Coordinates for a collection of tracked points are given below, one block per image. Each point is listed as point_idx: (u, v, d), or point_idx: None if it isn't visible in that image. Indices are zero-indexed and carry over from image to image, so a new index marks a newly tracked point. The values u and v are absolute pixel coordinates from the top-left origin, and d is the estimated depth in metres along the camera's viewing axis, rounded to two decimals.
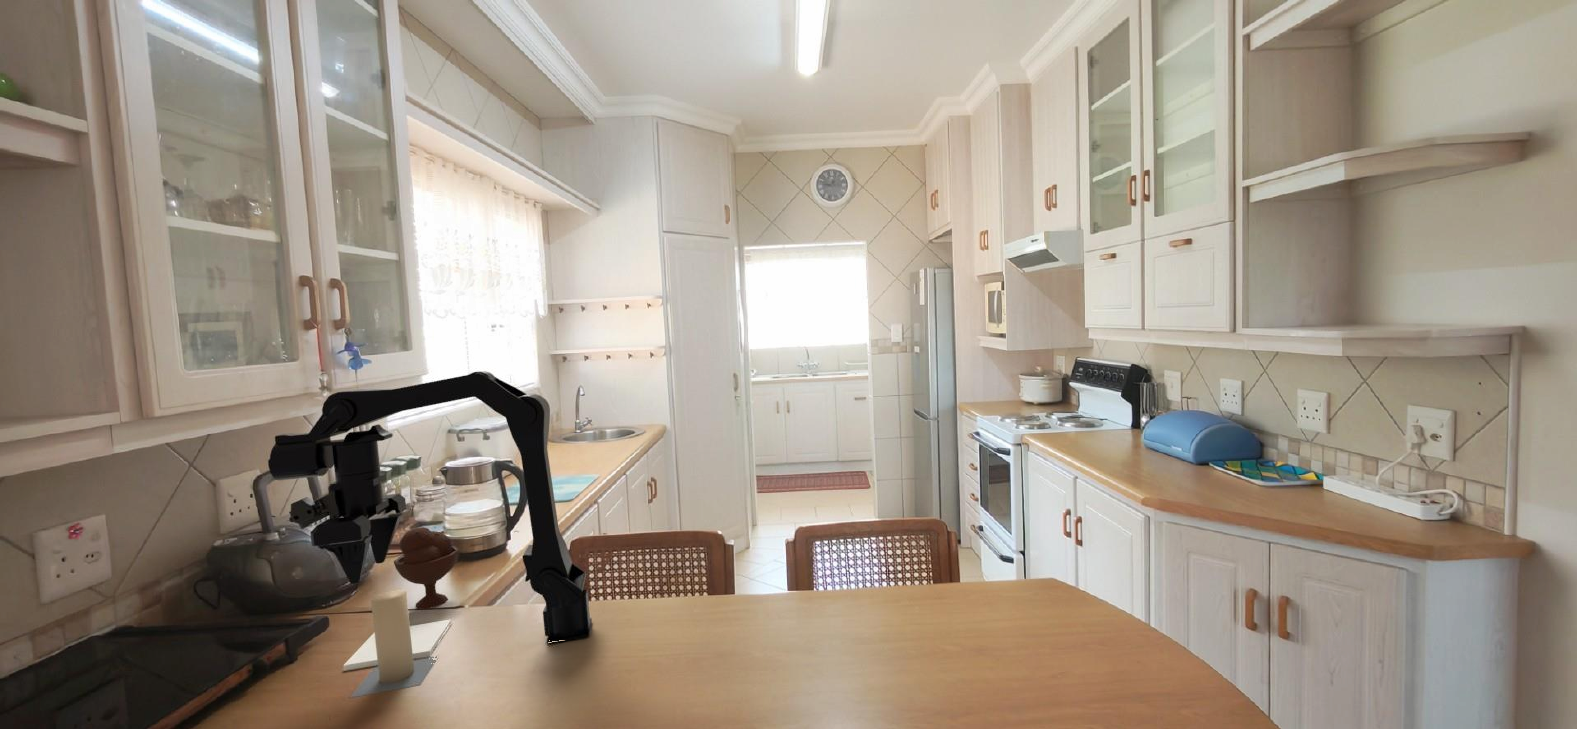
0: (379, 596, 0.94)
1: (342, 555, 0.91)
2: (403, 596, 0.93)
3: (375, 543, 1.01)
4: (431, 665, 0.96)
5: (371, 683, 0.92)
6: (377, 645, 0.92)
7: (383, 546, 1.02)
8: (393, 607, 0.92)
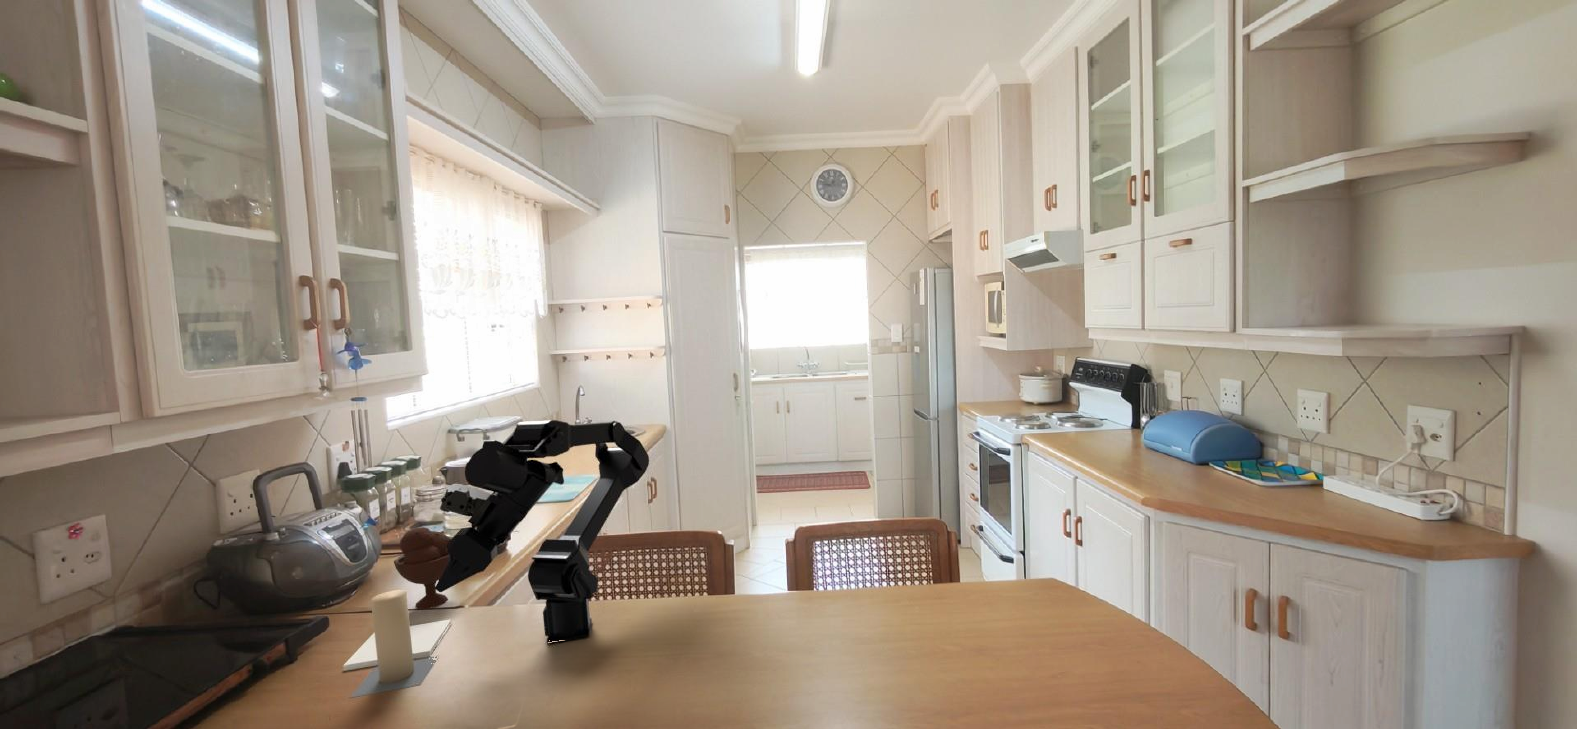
0: (379, 596, 0.94)
1: (453, 564, 0.90)
2: (403, 596, 0.93)
3: None
4: (431, 665, 0.96)
5: (371, 683, 0.92)
6: (377, 645, 0.92)
7: None
8: (393, 607, 0.92)
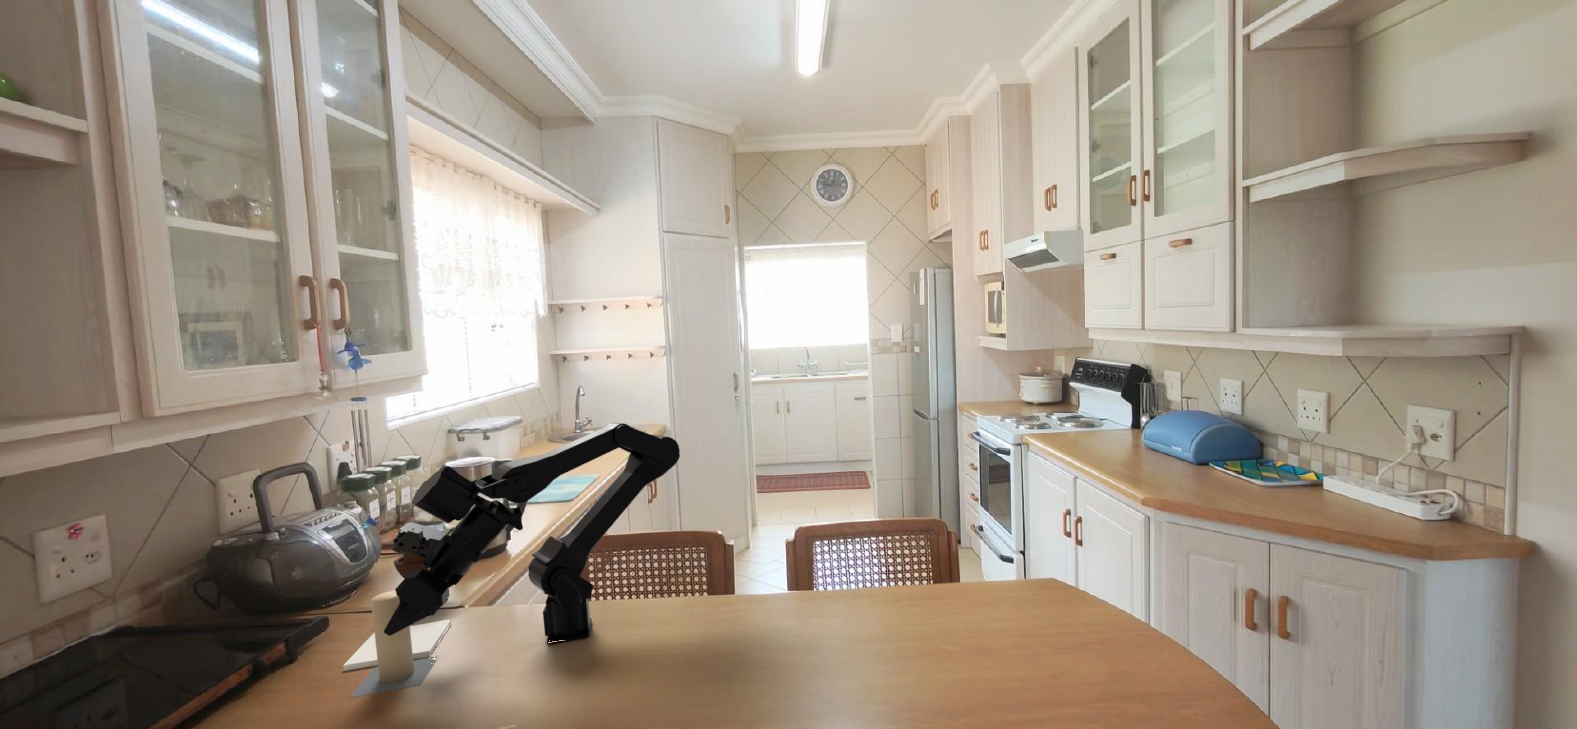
0: (379, 596, 0.94)
1: (403, 607, 0.88)
2: None
3: None
4: (431, 665, 0.96)
5: (371, 683, 0.92)
6: (377, 645, 0.92)
7: None
8: (393, 607, 0.92)
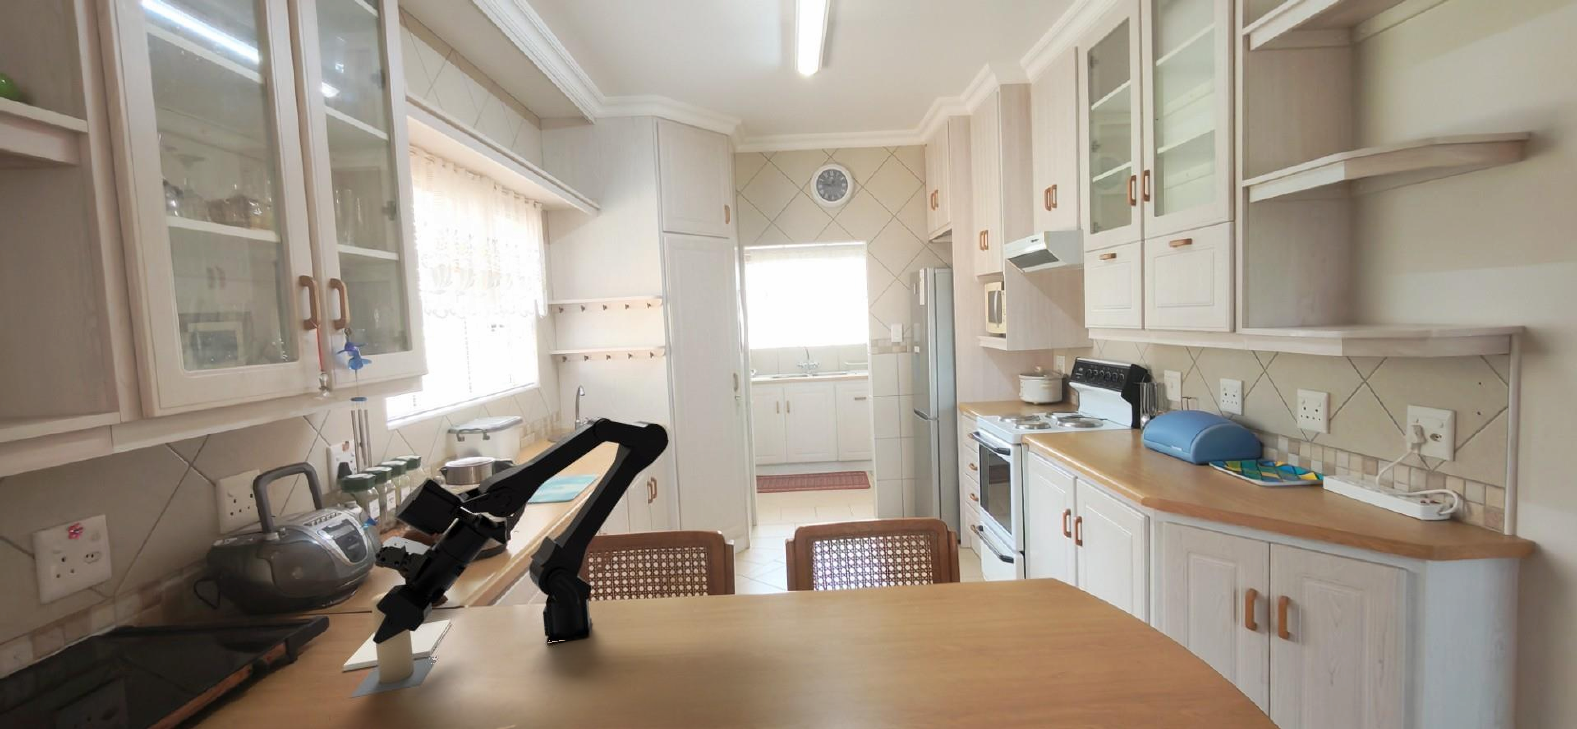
0: (379, 596, 0.94)
1: None
2: None
3: None
4: (431, 665, 0.96)
5: (371, 683, 0.92)
6: (377, 645, 0.92)
7: None
8: None
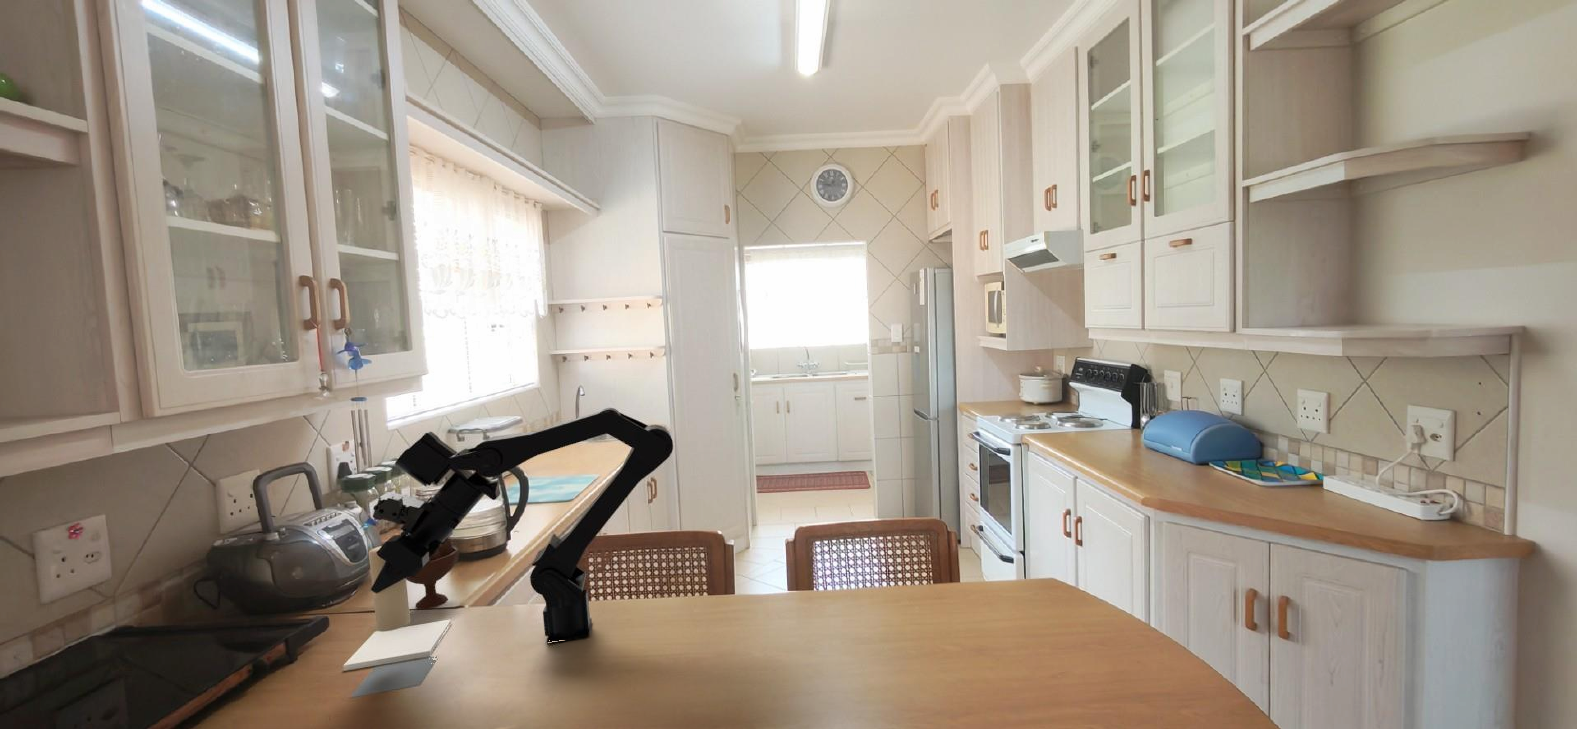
0: (376, 549, 0.97)
1: (389, 566, 0.94)
2: None
3: None
4: (431, 665, 0.96)
5: (371, 683, 0.92)
6: (375, 595, 0.96)
7: None
8: None
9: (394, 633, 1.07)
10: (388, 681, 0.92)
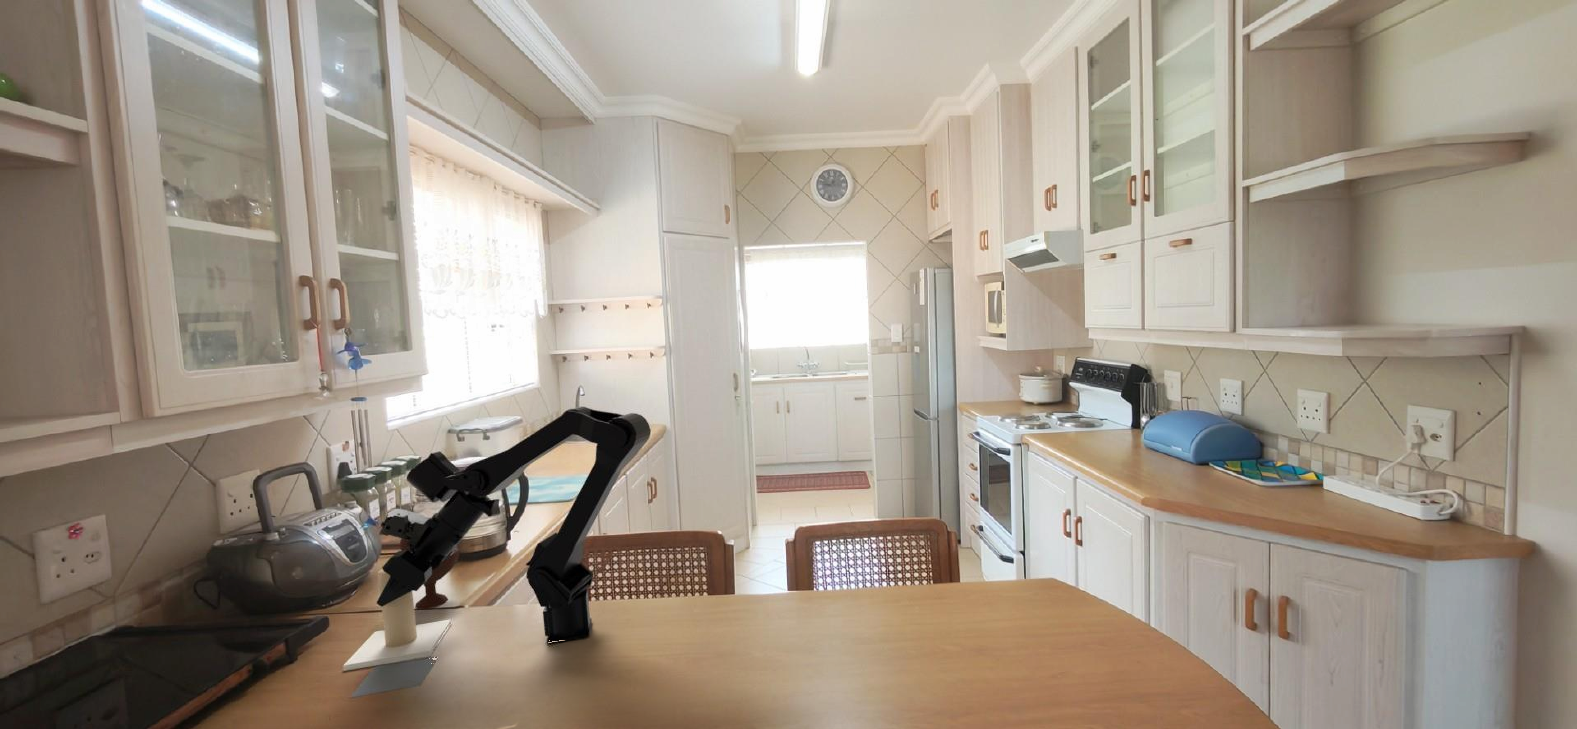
0: None
1: (393, 581, 0.99)
2: None
3: None
4: (431, 665, 0.96)
5: (371, 683, 0.92)
6: (383, 613, 1.02)
7: None
8: None
9: None
10: (388, 681, 0.92)
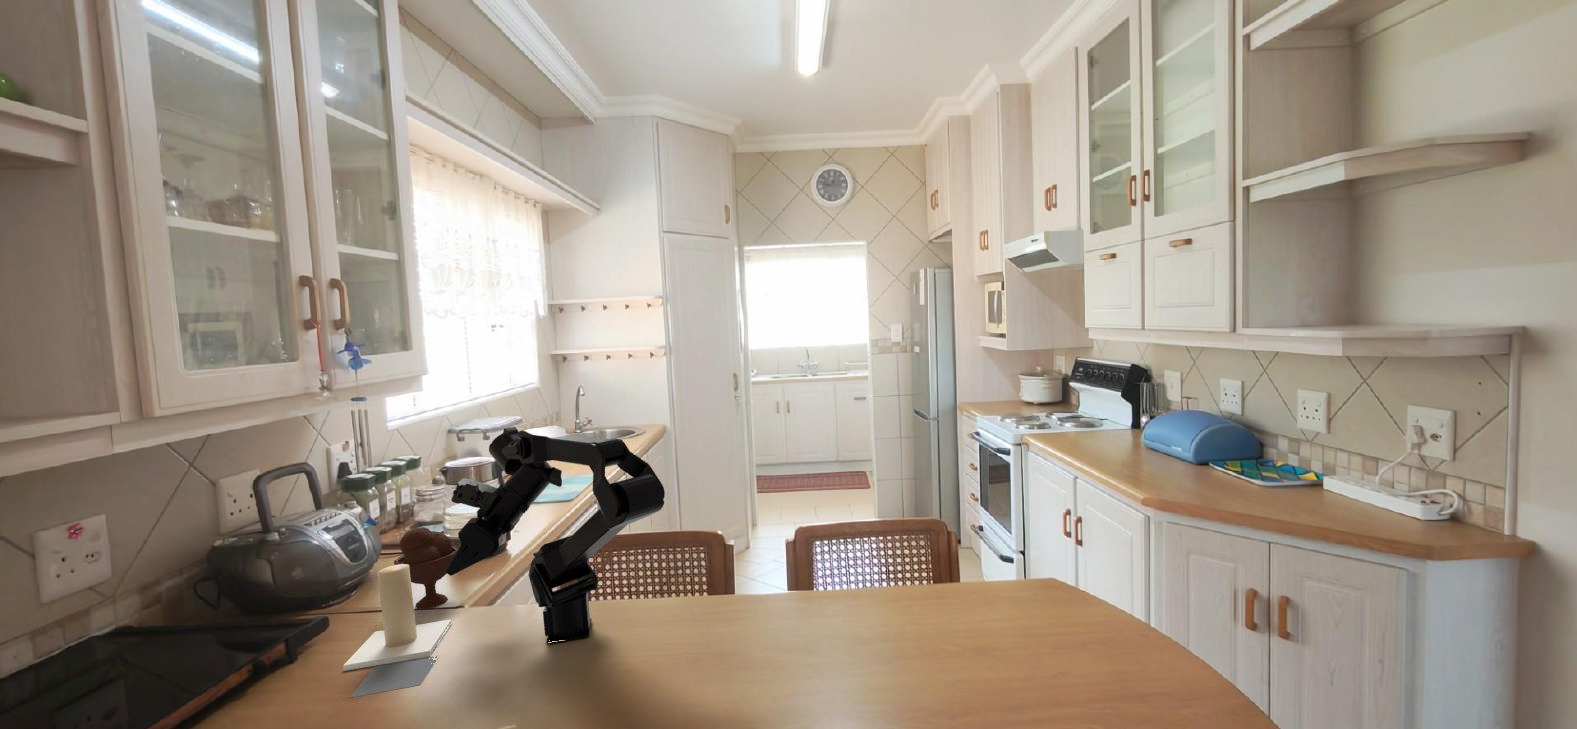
0: (384, 569, 1.03)
1: (463, 550, 1.00)
2: (406, 569, 1.03)
3: None
4: (431, 665, 0.96)
5: (371, 683, 0.92)
6: (383, 613, 1.02)
7: None
8: (397, 578, 1.02)
9: None
10: (388, 681, 0.92)
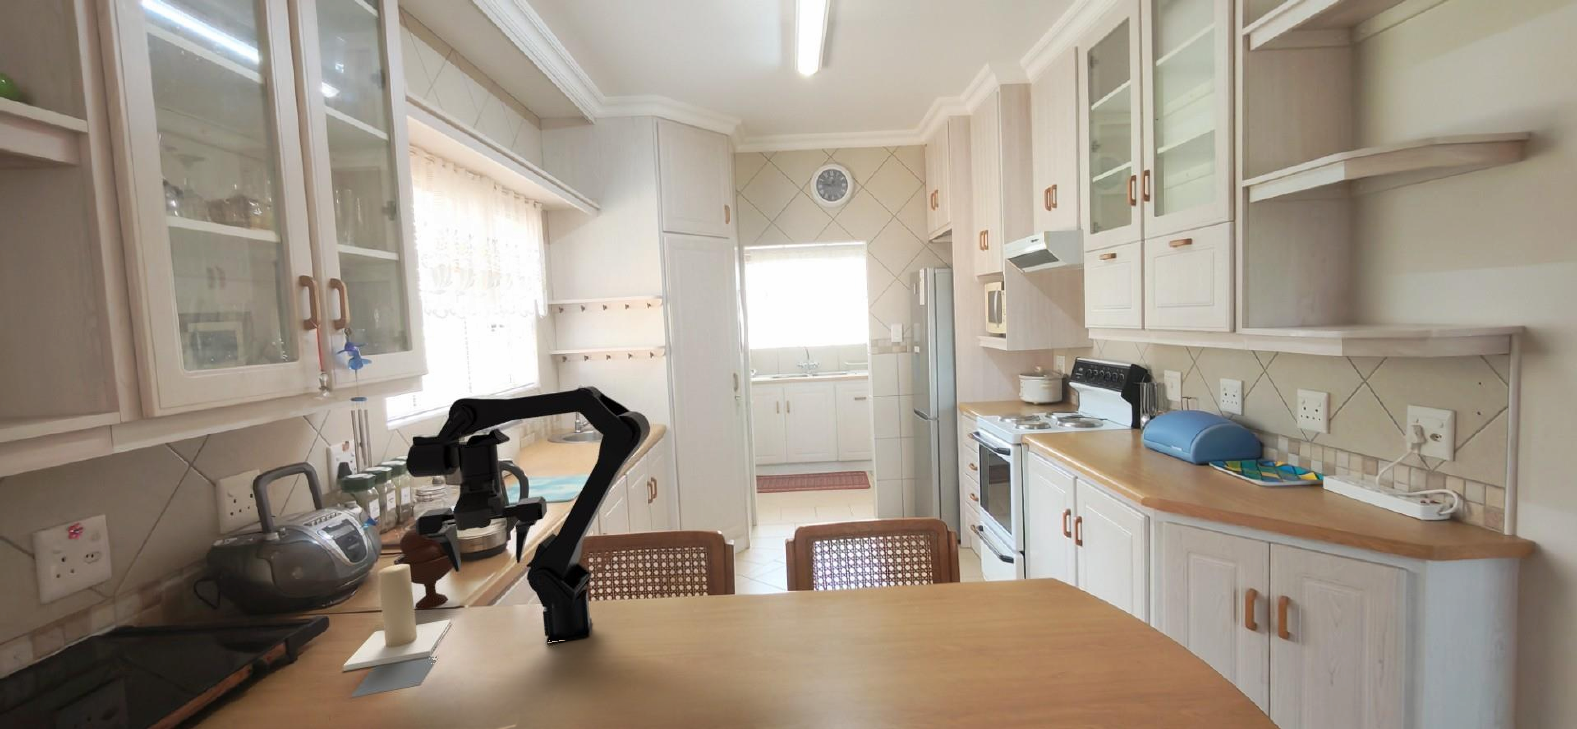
0: (385, 569, 1.03)
1: None
2: (407, 569, 1.03)
3: (455, 552, 1.02)
4: (431, 665, 0.96)
5: (371, 683, 0.92)
6: (383, 613, 1.02)
7: (458, 553, 1.03)
8: (398, 578, 1.02)
9: None
10: (388, 681, 0.92)
